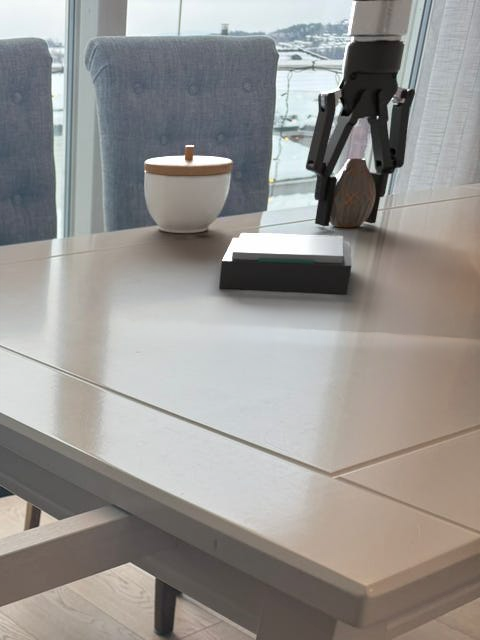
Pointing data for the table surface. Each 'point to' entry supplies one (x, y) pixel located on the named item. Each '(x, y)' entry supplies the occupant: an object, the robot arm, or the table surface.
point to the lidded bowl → (186, 190)
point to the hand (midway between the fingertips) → (345, 222)
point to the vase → (353, 194)
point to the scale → (287, 263)
